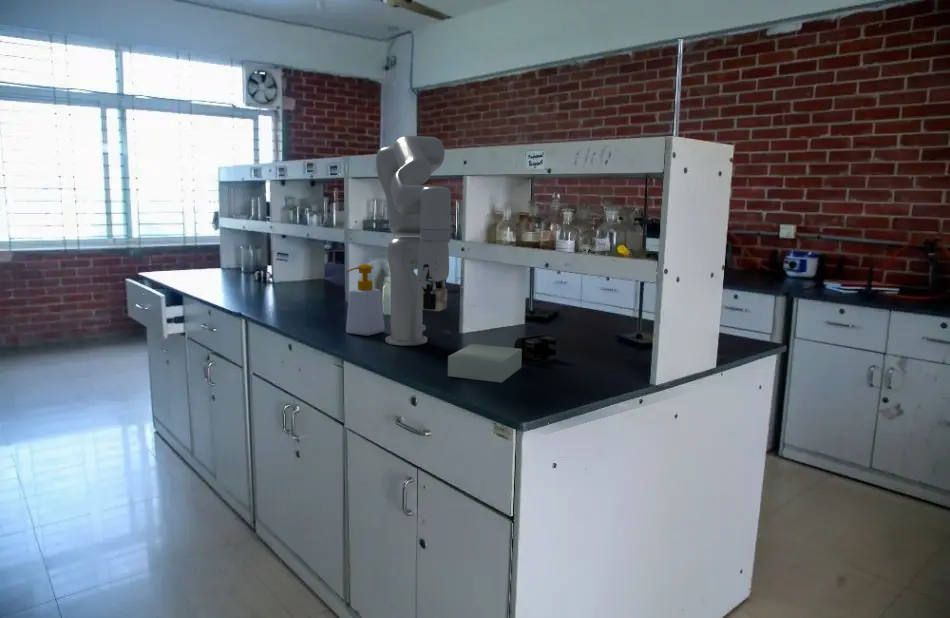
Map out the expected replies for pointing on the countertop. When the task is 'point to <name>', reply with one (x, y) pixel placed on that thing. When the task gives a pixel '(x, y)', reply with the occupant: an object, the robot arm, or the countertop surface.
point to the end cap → (536, 348)
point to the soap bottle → (364, 307)
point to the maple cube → (437, 299)
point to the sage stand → (485, 362)
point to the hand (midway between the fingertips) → (434, 306)
